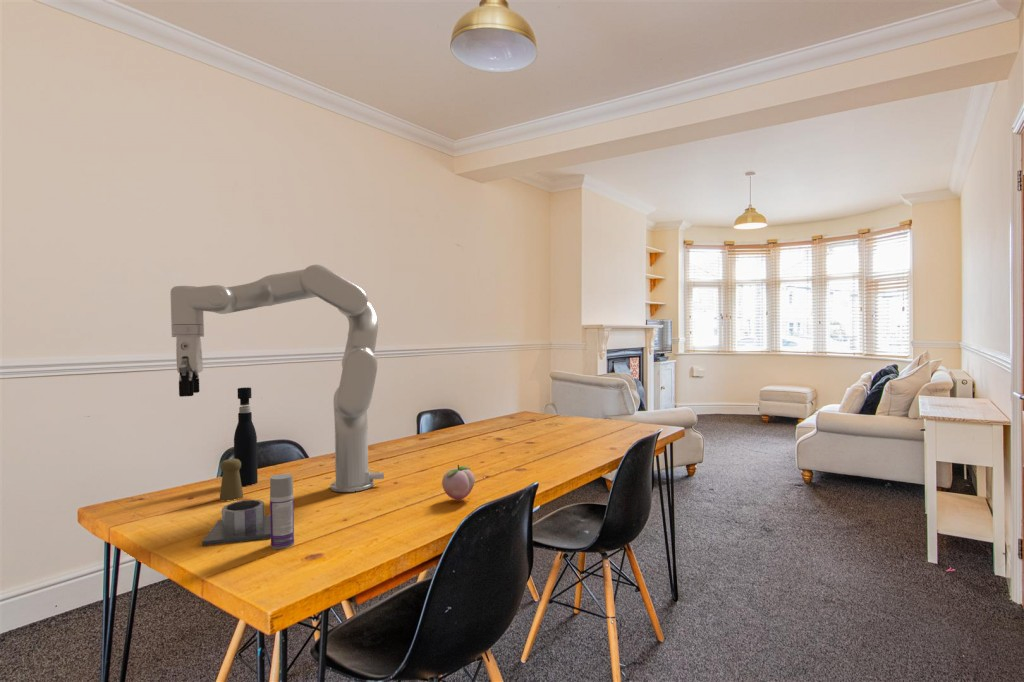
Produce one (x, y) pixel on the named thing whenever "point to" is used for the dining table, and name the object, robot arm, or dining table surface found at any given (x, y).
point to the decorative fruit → (458, 482)
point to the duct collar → (240, 524)
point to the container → (281, 511)
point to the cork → (231, 480)
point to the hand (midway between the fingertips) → (189, 394)
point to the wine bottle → (246, 440)
